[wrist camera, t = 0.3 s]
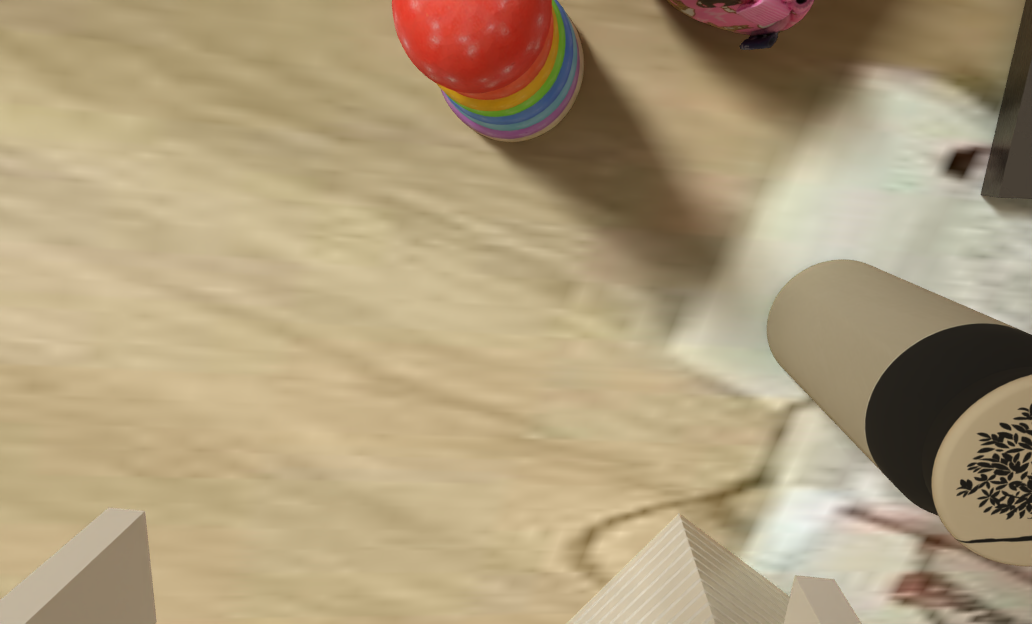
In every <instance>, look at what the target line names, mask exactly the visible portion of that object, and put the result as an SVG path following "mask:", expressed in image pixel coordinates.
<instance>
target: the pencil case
mask: <svg viewBox="0 0 1032 624" xmlns="http://www.w3.org/2000/svg"><path fill="white" fill-rule="evenodd" d="M667 1H668V2H669V3H670V4H671V5H672V6H673V7H674V8H676V9H677V10H679V11H681V12H682V13H684V14H686V15H688V16H689V17H691V18H693V19H695V20H698V21H700V22H703V23H706V24H709V25H712V26H714V27H717V28H720V29H723V30H728V31H732V32H735V33H741V34H747V35H750V37H749V38H748V39H746V40H744V41H743V42H742V43H741V45H740V49H742V50H753V49H763V48H770V47H771V46H772V45H773V44H774V43H775V42H776V40H777V38H778V33H779V32H780V31H783V30H786V29H788V28H790V27H792V26H793V25H795V24H796V23H798V22H799V21H800V20H801V19H803V17H804V16H805V15H806V13H807V12H808V11H809V10H810V8H811V6H812V4H813V2H814V0H667Z"/></svg>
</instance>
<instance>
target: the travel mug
mask: <svg viewBox="0 0 1032 624" xmlns="http://www.w3.org/2000/svg"><path fill="white" fill-rule="evenodd" d="M767 338H768V343H769V347H770V349H771V352H772V354H773V356H774V358H775V359H776V361H777V362H778V363H779V365H780V366H781V367H782V368H783V369H784V370H785V371H786V372H787V373H788V374H789V375H790V376H791V377H792V378H793V379H794V380H795V381H796V383H797V384H798V385H799V386H800V387H801V388H802V389H803V390H804V391H805V392H806V393H807V394H808V395H809V396H810V397H811V398H812V399H813V400H814V401H815V402H816V403H817V404H818V406H819V407H820V408H821V409H822V410H823V411H824V412H825V413H826V414H827V415H828V416H829V417H830V418H831V419H832V420H833V421H834V422H835V423H836V424H837V425H838V426H839V427H840V429H841V430H842V431H843V432H844V433H845V434H846V435H847V436H848V437H849V438H850V439H851V440H852V441H853V442H854V443H855V444H856V445H857V446H858V447H859V448H860V449H861V450H862V452H863V453H864V454H865V455H866V456H867V457H868V458H869V459H870V460H871V461H872V462H873V463H874V464H875V465H876V466H877V467H878V468H879V469H880V470H881V471H882V472H883V473H884V475H885V476H886V477H887V478H888V479H889V480H890V481H891V482H892V483H893V484H894V485H895V486H896V487H897V488H898V489H899V490H900V491H901V492H902V493H903V494H904V495H905V496H906V497H907V498H908V499H909V500H910V501H912V502H913V503H914V504H916V505H917V506H919V507H920V508H922V509H924V510H926V511H928V512H930V513H933V514H936V515H938V516H939V517H940V519H941V521H942V523H943V524H944V526H945V527H946V528H947V530H948V531H949V532H950V533H951V535H952V536H953V537H954V538H955V539H956V540H958V541H959V542H960V543H961V544H962V545H964V546H965V547H966V548H968V549H969V550H971V551H973V552H974V553H976V554H978V555H980V556H982V557H985V558H987V559H990V560H993V561H996V562H1000V563H1004V564H1009V565H1016V566H1032V335H1031V334H1028V333H1026V332H1024V331H1021V330H1019V329H1017V328H1014V327H1012V326H1010V325H1007V324H1005V323H1003V322H1000V321H998V320H996V319H993V318H991V317H989V316H987V315H984V314H982V313H980V312H977V311H975V310H973V309H970V308H968V307H966V306H963V305H961V304H959V303H956V302H954V301H952V300H949V299H947V298H945V297H942V296H940V295H938V294H936V293H933V292H931V291H929V290H926V289H924V288H922V287H919V286H917V285H915V284H912V283H910V282H908V281H905V280H903V279H901V278H898V277H896V276H894V275H891V274H889V273H887V272H885V271H882V270H880V269H878V268H875V267H873V266H871V265H868V264H866V263H862V262H859V261H854V260H831V261H826V262H822V263H819V264H816V265H814V266H811V267H809V268H807V269H805V270H803V271H802V272H800V273H799V274H797V275H796V276H795V277H793V278H792V279H791V280H790V281H789V282H788V283H787V284H786V285H785V286H784V287H783V288H782V290H781V291H780V292H779V294H778V295H777V297H776V298H775V300H774V302H773V304H772V307H771V309H770V312H769V316H768V321H767Z"/></svg>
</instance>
